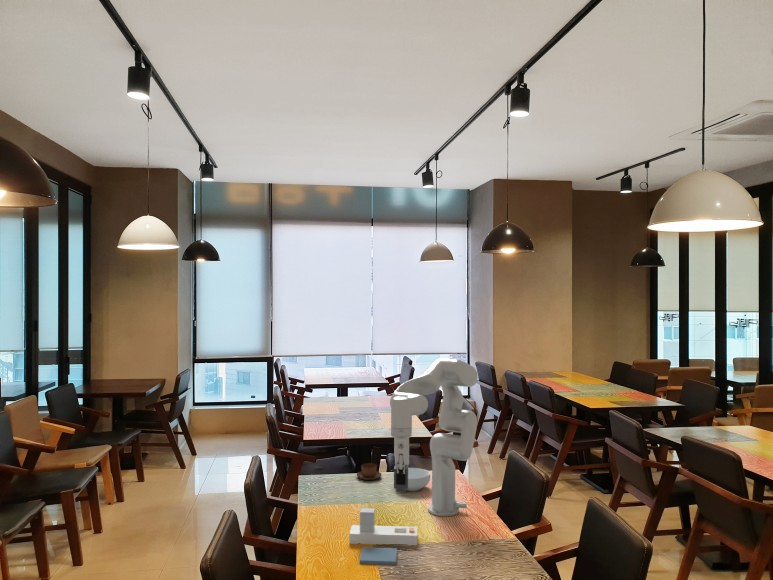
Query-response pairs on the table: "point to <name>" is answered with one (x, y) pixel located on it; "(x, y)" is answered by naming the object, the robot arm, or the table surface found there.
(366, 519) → the block
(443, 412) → the robot arm
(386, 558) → the mat
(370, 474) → the cup and saucer
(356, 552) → the table surface
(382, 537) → the power strip
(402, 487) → the block
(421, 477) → the cereal bowl
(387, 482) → the table surface
